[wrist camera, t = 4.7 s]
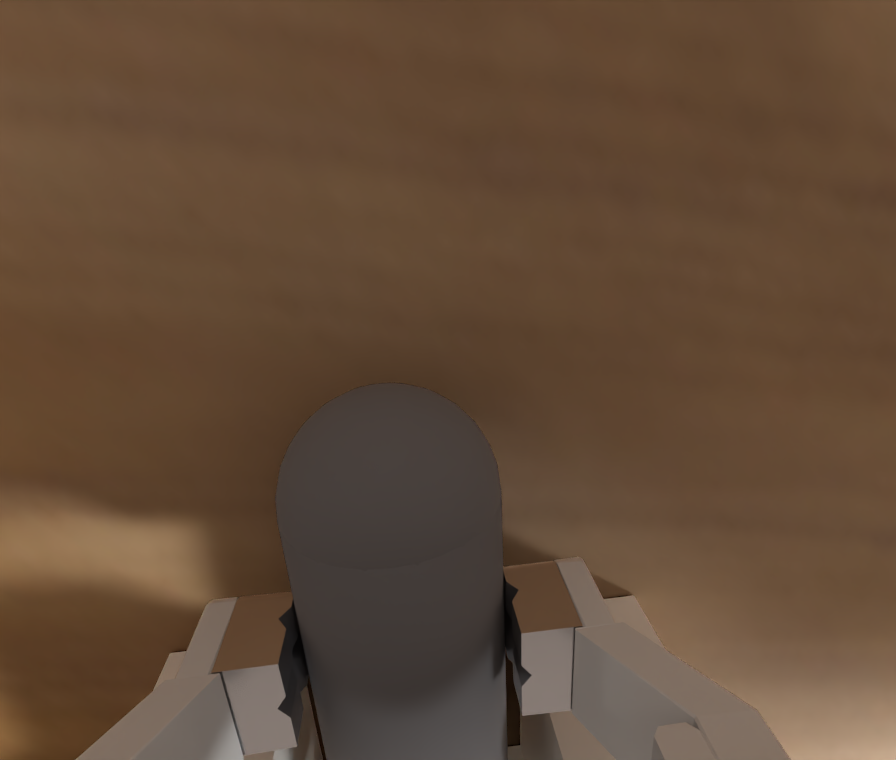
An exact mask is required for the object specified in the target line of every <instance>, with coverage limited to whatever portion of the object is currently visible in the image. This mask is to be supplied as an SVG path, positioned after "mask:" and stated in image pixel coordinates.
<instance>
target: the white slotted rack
mask: <svg viewBox="0 0 896 760" xmlns="http://www.w3.org/2000/svg"><path fill="white" fill-rule="evenodd" d="M604 601H605V603H606V605H607V607H608V609H609V611H610V613H611V615H612V617H613V619H614V621H615V623H621V622H624V623H626V624H627V625H629V626H630V627H632V628H634V629H635V630H637V631H638V632H640V633H641V634H643V635H644V636H646V637H647V638H649V639H650V640H652V641H653V642H655V643H656V644H658V645H659V646H661V647H662V648H664V646H663V644H662V643H661V641H660V639H659V637H658V636H657V634H656V632H655V630H654V629H653V627H652V625H651V624H650V622H649V620H648V618H647V617H646V615H645V613H644V611H643V610H642V608H641V606H640V605H639V603H638V601H637V599H636V598H635V596H634V595H633V596H625V597H617V598H609V599H604ZM664 649H665V648H664ZM665 650H666V649H665ZM185 653H186V651H183V652H175V653H170V654H169V656H168V658H167V661H166V663H165V665H164V667H163V669H162V672H161V674H160V676H159V678H158V681H157V683H156V685H155V687H154V689H153V691H154V690H155V689H156V688H157V687H158V686H159V685H160V684H161V683H163V682H164V681H165V680H170V679H175V676H176V674H177V672H178V669H179V667H180V665H181V662H182V660H183V658H184V655H185ZM301 698H302V703H303V708H304V709H303V715H302V721H301V727H300V733H299V739H298V745H297V747H293V748H287V749H281V750H275V751H269V752H263V753H257V754H251V755H245V756H243V757H244V760H323V758H322V753H321V749H320V744H319V739H318V735H317V730H316V725H315V720H314V716H313V711H312V706H311V702H310V697H309V692H308V687H307V685H306V687H305V688H304V689H303V690H302V691H301ZM507 748H508V760H616V759H615V758H614V757H613V756H612V755H611V754H610V753H609V752H608V751H607V750H606V748H605V747H604V746H603V745H602V744H601V743H600V742H599V741H598V740H597V739H596V738H595V737H594V736H593V735H592V734H591V733H590V732H589V731H588V730H587V729H586V728H585V726H584V725H583V724H582V723H581V722H580V721H579V720H578V719H577V718H576V717H575V716H574V715H573V714H572V711H563V712H553V713H544V714H535V715H525V716H522V713H521V709H520V745H517V746H510V747H507Z"/></svg>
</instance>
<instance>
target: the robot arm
mask: <svg viewBox="0 0 896 760" xmlns="http://www.w3.org/2000/svg"><path fill="white" fill-rule="evenodd" d="M503 581H504V623H505V648H506V652H507V657H508V659H509V660H510V661H511V662H513V681H514V685H515V689H516V693H517V697H518V701H519V705H520V709H521V713H522V716H525V715H535V714H544V713H553V712H563V711H572V714H573V715H574V716H575V717H576V718H577V719H578V720H579V721H580V722H581V723H582V724H583V725H584V726H585V728H586V729H587V730H588V731H589V732H590V733H591V734H592V735H593V736H594V737H595V738H596V739H597V740H598V741H599V742H600V743H601V744H602V745H603V746H604V747H605V748H606V750H607V751H608V752H609V753H610V754H611V755H612V756H613V757H614V758H615V759H616V760H791V759H790V758H789V756H788V755H787V753H786V752H785V750H784V749H783V747H782V746H781V744H780V743H779V741H778V740H777V739H776V737H775V736H774V734H773V733H772V731H771V730H770V728H769V727H768V725H767V724H766V722H765V721H764V719H763V718H762V717H761V715H760V714H759V712H758V711H757V710H756V709H755V708H753V707H752V706H750V705H749V704H747V703H745V702H744V701H742V700H741V699H739V698H738V697H736V696H735V695H733V694H732V693H730V692H729V691H727V690H726V689H724V688H723V687H721V686H720V685H718V684H717V683H715V682H714V681H712V680H711V679H709V678H708V677H706V676H705V675H703V674H702V673H700V672H699V671H697V670H696V669H694V668H693V667H691V666H690V665H688V664H686V663H685V662H683V661H682V660H680V659H679V658H677V657H676V656H674V655H673V654H671V653H670V652H668V651H667V650H665V649H664V648H662V647H661V646H659V645H658V644H656V643H655V642H653V641H652V640H650V639H649V638H647V637H646V636H644V635H643V634H641V633H640V632H638V631H637V630H635V629H634V628H632V627H630V626H629V625H627V624H626V623H624V622H621V623H615V621H614V619H613V617H612V615H611V613H610V611H609V609H608V607H607V605H606V603H605V601H604V599H603V597H602V595H601V593H600V591H599V589H598V587H597V585H596V583H595V581H594V579H593V577H592V575H591V573H590V571H589V569H588V568H587V566H586V564H585V562H584V560H583V559H582V558H581V557H572V558H565V559H557V560H553V561H546V562H538V563H530V564H522V565H514V566H506V567H503ZM308 677H309V672H308V668H307V663H306V658H305V653H304V648H303V644H302V639H301V634H300V629H299V624H298V619H297V615H296V610H295V605H294V600H293V595H292V591H290V592H279V593H268V594H258V595H247V596H241V597H231V598H221V599H212V600H211V601H210V602H209V603H208V604H207V605H206V606H205V608H204V611H203V613H202V615H201V618H200V620H199V623H198V625H197V627H196V630H195V632H194V634H193V637H192V639H191V641H190V644H189V646H188V648H187V651H186V653H185V655H184V658H183V660H182V662H181V665H180V667H179V669H178V672H177V674H176V676H175V679H170V680H165V681H164V682H163V683H161V684H160V685H159V686H158V687H157V688H156V689H155V690H154V691H152V692H151V693H150V694H149V695H148V696H147V697H146V698H144V699H143V700H142V701H141V702H140V703H139V704H138V705H137V706H135V707H134V708H133V709H132V710H131V711H130V712H129V713H127V714H126V715H125V716H124V717H123V718H122V719H121V720H120V721H118V722H117V723H116V724H115V725H114V726H113V727H112V728H110V729H109V730H108V731H107V732H106V733H105V734H104V735H103V736H101V737H100V738H99V739H98V740H97V741H96V742H95V743H94V744H92V745H91V746H90V747H89V748H88V749H87V750H86V751H84V752H83V753H82V754H81V755H80V756H79V757H78V758H77V759H75V760H244V757H243V756H245V755H251V754H257V753H263V752H269V751H275V750H281V749H287V748H293V747H297V745H298V739H299V733H300V727H301V721H302V715H303V709H304V708H303V703H302V698H301V691H302V690H303V689H304V688H305V687H306V685H307V684H308Z"/></svg>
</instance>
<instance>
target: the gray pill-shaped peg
mask: <svg viewBox="0 0 896 760" xmlns="http://www.w3.org/2000/svg"><path fill="white" fill-rule="evenodd" d="M501 494H502V493H501V486H500V479H499V472H498V466H497V462H496V459H495V457H494V454H493V452H492V449H491V446H490V444H489V443H488V441H487V439H486V438H485V436H484V435H483V433H482V432H481V430H480V429H479V427H478V426H477V424H476V423H475V421H474V420H473V419H471V418H470V417H469V416H468V415H467V414H466V413H465V412H464V411H463V410H462V409H461V408H460V407H458V406H457V405H456V404H455V403H453V402H452V401H450V400H448V399H446V398H445V397H443V396H441V395H439V394H437V393H435V392H434V391H431V390H428V389H425V388H421V387H417V386H413V385H408V384H402V383H379V384H372V385H367V386H363V387H359V388H356V389H353V390H351V391H349V392H347V393H344V394H342V395H340V396H338V397H336V398H334V399H332V400H330V401H329V402H328V403H326V404H325V405H323V406H322V407H321V408H320V409H319V410H318V411H316V412H315V413H314V414H313V415H312V416H311V417H310V418H309V419H308V420H307V421H306V422H305V423H304V424H303V425H302V427H301V428H300V430H299V431H298V432H297V434H296V435H295V437H294V438H293V440H292V441H291V443H290V445H289V447H288V449H287V451H286V454H285V456H284V459H283V461H282V464H281V466H280V471H279V477H278V483H277V490H276V496H275V501H276V513H277V523H278V528H279V533H280V538H281V542H282V547H283V552H284V557H285V562H286V566H287V571H288V576H289V581H290V586H291V591H292V595H293V600H294V605H295V610H296V615H297V619H298V624H299V629H300V634H301V639H302V644H303V648H304V653H305V658H306V663H307V668H308V672H309V677H310V682H311V687H312V692H313V697H314V701H315V706H316V711H317V716H318V721H319V725H320V730H321V735H322V740H323V745H324V750H325V754H326V759H327V760H508V748H507V706H506V664H505V623H504V581H503V538H502V495H501Z"/></svg>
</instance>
